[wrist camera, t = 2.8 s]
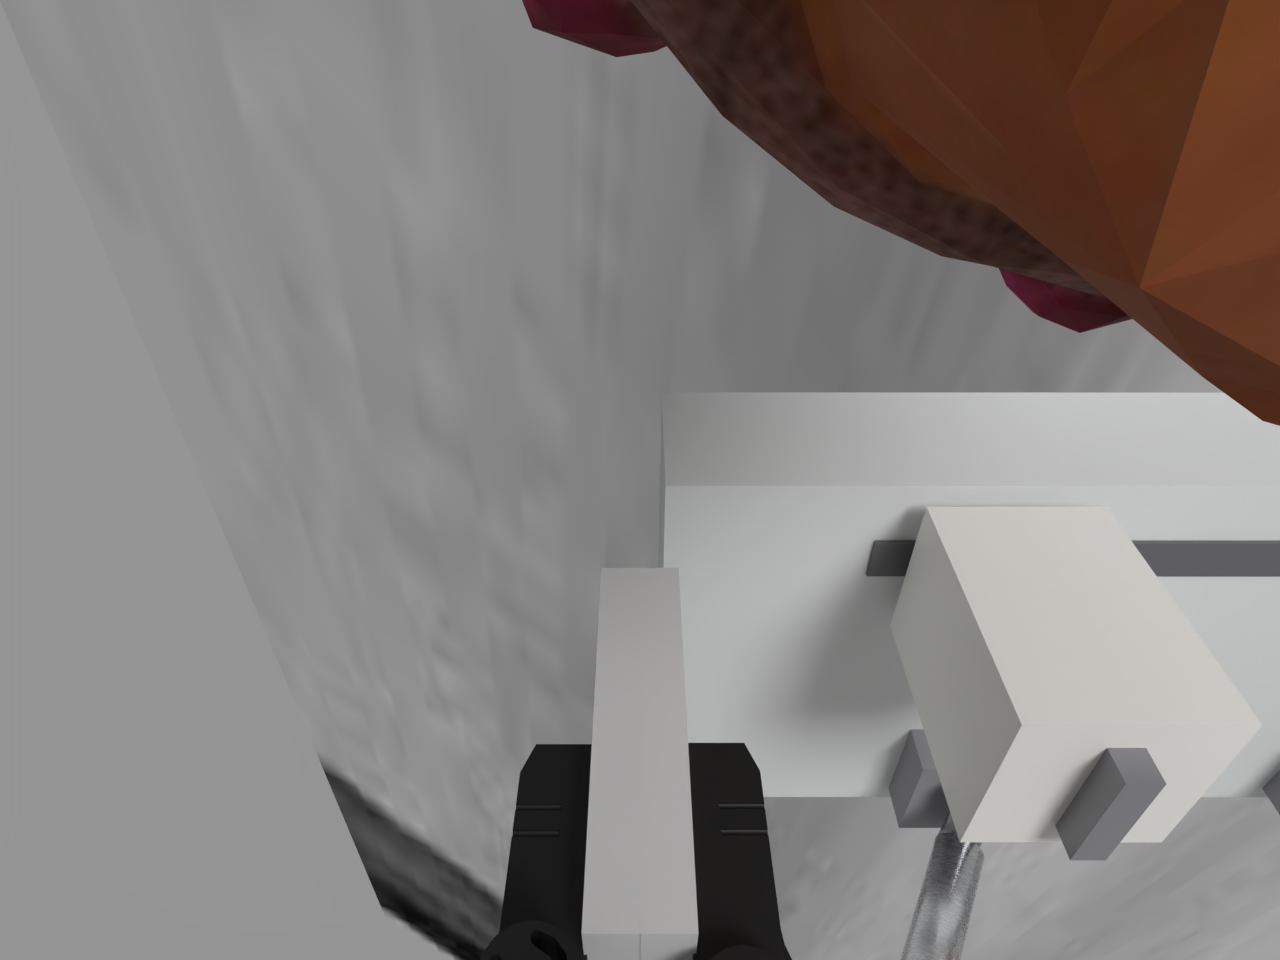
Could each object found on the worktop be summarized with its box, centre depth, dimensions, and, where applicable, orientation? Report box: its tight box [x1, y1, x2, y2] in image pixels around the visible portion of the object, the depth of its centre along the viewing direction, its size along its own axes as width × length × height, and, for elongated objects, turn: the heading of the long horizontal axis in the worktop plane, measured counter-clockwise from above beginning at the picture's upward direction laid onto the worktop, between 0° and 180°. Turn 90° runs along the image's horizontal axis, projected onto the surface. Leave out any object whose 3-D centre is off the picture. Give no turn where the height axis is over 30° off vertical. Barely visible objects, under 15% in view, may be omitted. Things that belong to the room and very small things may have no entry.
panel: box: [658, 392, 1280, 828], centre depth 20 cm, size 12×25×5 cm, turn 90°
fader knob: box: [890, 507, 1263, 860], centre depth 14 cm, size 4×4×6 cm
